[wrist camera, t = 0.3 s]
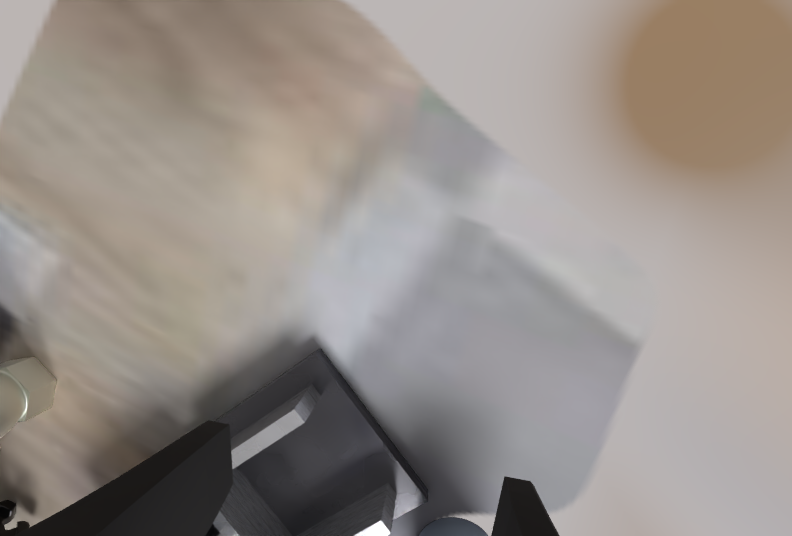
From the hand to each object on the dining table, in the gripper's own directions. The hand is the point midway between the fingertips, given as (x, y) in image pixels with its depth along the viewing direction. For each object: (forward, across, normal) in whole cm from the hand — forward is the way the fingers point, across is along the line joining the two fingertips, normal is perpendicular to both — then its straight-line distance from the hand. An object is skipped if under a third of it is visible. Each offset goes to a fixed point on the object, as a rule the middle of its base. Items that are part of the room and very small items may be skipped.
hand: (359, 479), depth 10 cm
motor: (+8, +8, +13) cm, 17 cm away
